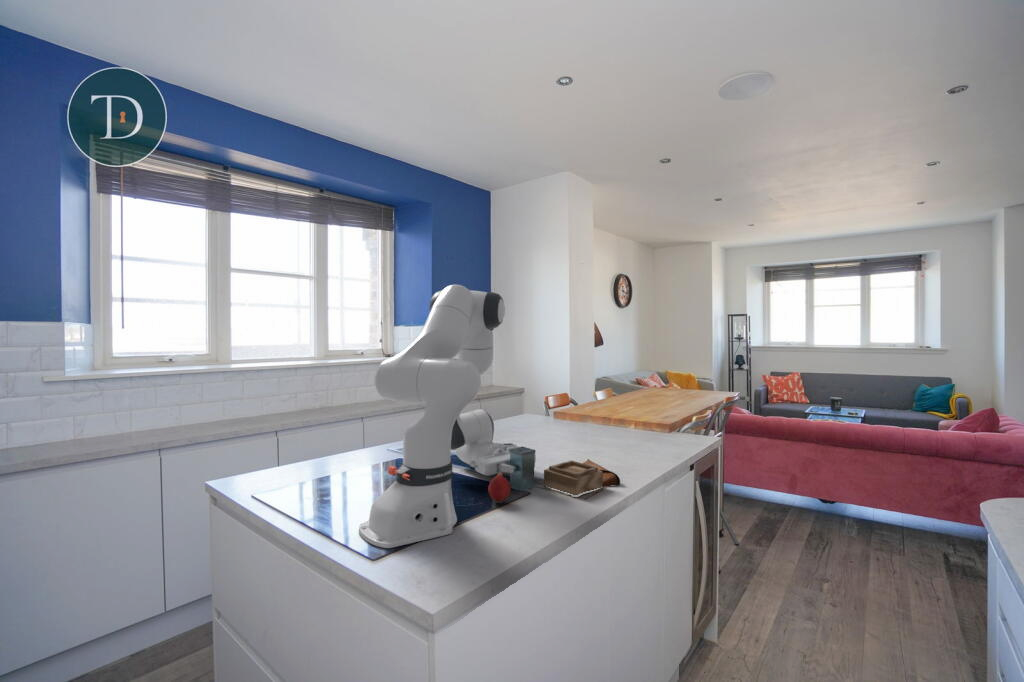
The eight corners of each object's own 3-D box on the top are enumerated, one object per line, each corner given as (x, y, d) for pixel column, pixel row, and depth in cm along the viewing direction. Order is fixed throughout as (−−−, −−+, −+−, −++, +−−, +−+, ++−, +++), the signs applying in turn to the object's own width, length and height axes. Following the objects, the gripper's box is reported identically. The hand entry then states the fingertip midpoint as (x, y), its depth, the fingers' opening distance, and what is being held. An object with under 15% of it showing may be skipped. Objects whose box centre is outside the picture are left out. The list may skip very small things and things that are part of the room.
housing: (521, 491, 134) (521, 453, 133) (508, 487, 138) (509, 449, 137) (535, 487, 137) (535, 450, 137) (522, 483, 141) (522, 446, 141)
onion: (496, 508, 121) (496, 477, 121) (484, 501, 125) (484, 471, 125) (514, 503, 124) (514, 473, 124) (502, 497, 129) (502, 468, 129)
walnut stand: (575, 498, 129) (575, 476, 129) (543, 486, 138) (544, 466, 138) (602, 488, 137) (602, 467, 137) (570, 478, 146) (571, 459, 146)
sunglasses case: (566, 470, 154) (576, 452, 155) (582, 479, 156) (592, 461, 157) (596, 488, 137) (606, 467, 138) (613, 498, 139) (623, 477, 140)
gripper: (466, 453, 140) (496, 463, 129) (517, 442, 153) (548, 450, 143) (466, 474, 140) (496, 485, 130) (516, 461, 154) (547, 471, 143)
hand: (524, 467), depth 136 cm, fingers open, 6 cm apart
